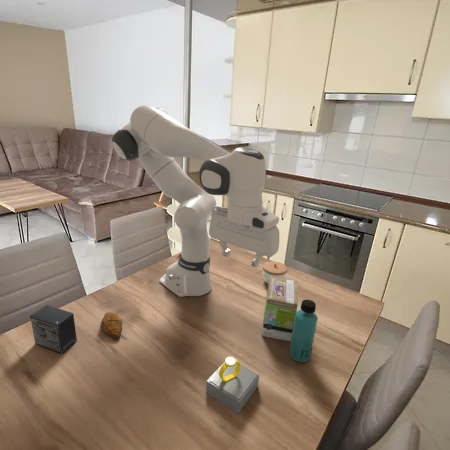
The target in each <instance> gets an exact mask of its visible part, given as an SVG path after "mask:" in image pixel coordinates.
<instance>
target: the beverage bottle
mask: <svg viewBox="0 0 450 450" xmlns="http://www.w3.org/2000/svg"><path fill="white" fill-rule="evenodd" d="M317 322H318V316H317V313H316V302H314V300H311V299H303V300H302V301H301V304H300V309H297V312H296V316H295V322H294V327H293V332H292V337H291V340H290V344H289V345H290V346H289V355H290V357H292V359H294V360H295V361H297V362H301V363H304V362H307V361H308V360H309V359H310V358H311V354H312V350H313V346H314V345H313V344H314V342H315V341H314V338H315V334H316V330H317Z"/></svg>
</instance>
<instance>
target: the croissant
mask: <svg viewBox="0 0 450 450" xmlns="http://www.w3.org/2000/svg"><path fill="white" fill-rule="evenodd" d="M100 327H101V329H102V330H103V331H105V332H106V334H107V335H108V336H109V337H110V338H112V339H113V340H115V341H116V340H120V338H121V334H122V331H123V320H122V318H121V317H120V316H119V315H118V314H116V313H114V312H108V311H107V312H106V313H104V316H103V317H102V319H101V323H100Z"/></svg>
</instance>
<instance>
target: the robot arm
mask: <svg viewBox="0 0 450 450" xmlns="http://www.w3.org/2000/svg"><path fill="white" fill-rule="evenodd" d="M111 144H112V146H113V149H114V151H115V152H116V154H117V155H118V156H119V157H120V158H122V159H123V160H125V161H128V162H132V161H135V160H137V159H138V161H139V162H140V165H141V166H142V168H143V169H144V171H145V173H146V174H147V175H148V176H149V177H150V179H151V180H152V181H153V182H154V184H155V185H156V186H157V187H158V189H159V190H160V191H161V192H162V193H163V194H164V195H165V196H166V197H168V198H171V199H172V200H174V201H176V202H177V203H178V204H179V205H178V207H177V209H176V210H175V212H174V217H173V218H174V223H175V225H176V226H177V228H179V232H180V237H181V253H180V254H179V255H176V258H175V259H178V260H177V261H175V262H174V263H171V264H170V265H169V266H168V267H167V268H166V270H165V274H163V275H162V276H161V277H160V279H159V283H160V284H161V285H163V286H164V287H166V288H167V289H168V290H170V291H171V292H173V294H175V295H177V296H178V297H179V298H184V297H199V296H203V295H206V294H208V293H210V291H211V290H212V282H211V276H210V275H211V274H210V266H211V255H210V248H211V246H210V245H211V244H210V243H211V239H214V240H217V241H219V247H220V248H221V250H222V252H221V253H222V254H221V255H222V257H226V258H227V257H229V256H230V255H231V253H230V252H231V249H229V248H228V245H227V244H229V245H231V246H234V247H238V248H240V249H244V250H247V251H249V252H253V253H255V257H256V258H253V259H251V264H250V266H251V267H254V268H258V267H259V266H260V261H261V260H262V258H263V257H264V256H265V257H268V258H272V257H274V255H276V254H277V253H278V252H279V248H280V230H279V227H278V226H277V225H278V224H279V223H280V217H279V216H278V215H276V214H275V213H273V212H272V211H269V210H268V209H267V208H265V207H264V206H263V192H264V190H265V184H266V172H267V171H266V169H267V168H266V158H265V156H264V155H263V153H261V152H260V151H259V150H256V149H253V148H248V147H236V148H235V149H233V151H230V150H228V149H226V148H225V147H223V146H221V145H219V144H217V143H215V142H214V141H212V140H210V139H208V138H206V137H205V136H202V135H200V134H199V133H198V132H196V131H194V130H192V129H190V128H189V127H187V126H186V125H183V124H182V123H181V122H179V121H177V120H176V119H175V118H173V117H172V116H170V115H169V114H168V112H166V111H165V110H164V109H162V108H161V107H153V106H150V105H145V104H144V105H140V106H137V107H136V108H135V109H134V110H133V111H132V113H131V115H130V118H129V122H128V123H127V124H126V125H124V126H123V127H122V128H121V129H118V130H117V131H116V132H115V133H114V134H113V135H112V137H111ZM175 158H191V159H192V158H193V159H197V160H201V161H203V163H202V164H201V165H200V168H199V173H198V181H199V184H197V183H196V182H195V181H194V180H193V179H192V178H190V176H189V175H188V174H187V173H186V172H185V171H184V169H182V168H181V166H180V164H178V162H177V161H176V160H175ZM215 196H226V197H227V198H228V199H227V200H228V201H227V208H226V207H222V206H219V205H217V200H216V197H215ZM209 219H210V222H209V228H208V227H207V226H208V221H209Z"/></svg>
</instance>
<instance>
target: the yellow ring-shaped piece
mask: <svg viewBox="0 0 450 450" xmlns="http://www.w3.org/2000/svg"><path fill="white" fill-rule="evenodd" d="M224 362H225V363H224ZM224 362H223V363H224V364H223V363H222V364H223V365H222V364H221V365H222V367H221V369H220V371H219V376H220V378H221V379H222V381H224V382H227V381H229V380H231V379H233V378H235V377H236V376H237V374H238V373H239V371H240V367H241V365H242V364H241V363H240V362H239V360H238V359H237V358H235V357H233V356H227V357H226V358H225V360H224ZM236 363H237V366H236V368H235V370H234V371H233V372H232V374H230V375H228V376H226V377H223V373H224V372H225V370H226V369H227V368H228V367H233V366H235V364H236Z"/></svg>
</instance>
